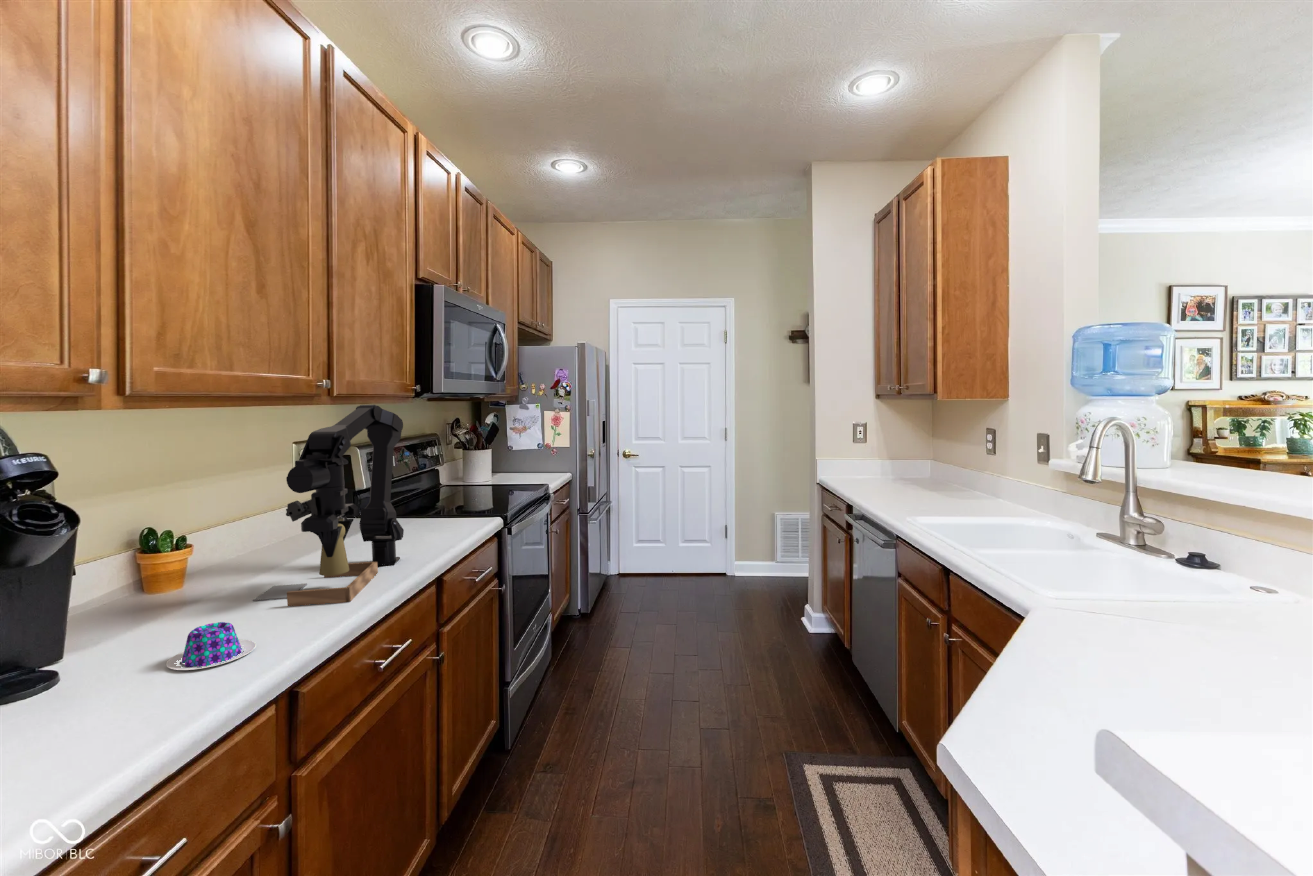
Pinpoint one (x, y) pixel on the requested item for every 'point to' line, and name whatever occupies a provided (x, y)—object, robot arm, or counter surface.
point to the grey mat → (279, 591)
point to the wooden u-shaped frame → (336, 595)
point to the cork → (335, 558)
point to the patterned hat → (211, 646)
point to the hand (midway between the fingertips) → (333, 554)
